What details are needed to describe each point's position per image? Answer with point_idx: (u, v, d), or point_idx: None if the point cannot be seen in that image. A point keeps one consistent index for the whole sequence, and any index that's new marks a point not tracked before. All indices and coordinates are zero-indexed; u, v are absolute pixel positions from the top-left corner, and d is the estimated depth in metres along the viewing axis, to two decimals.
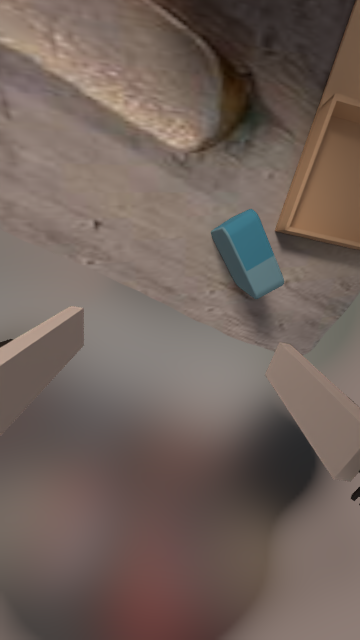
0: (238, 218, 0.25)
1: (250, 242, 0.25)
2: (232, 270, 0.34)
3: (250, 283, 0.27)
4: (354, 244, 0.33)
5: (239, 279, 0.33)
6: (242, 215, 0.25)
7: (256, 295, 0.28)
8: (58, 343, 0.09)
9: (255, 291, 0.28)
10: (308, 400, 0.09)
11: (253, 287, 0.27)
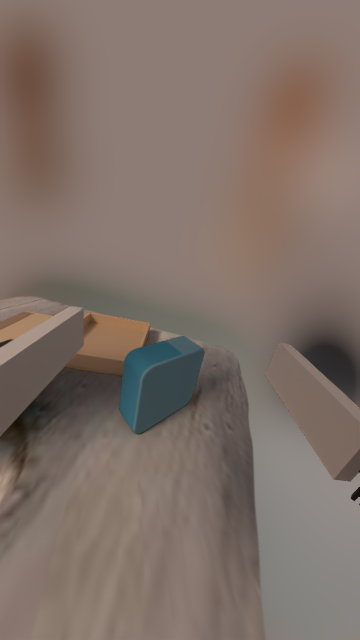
0: (133, 364, 0.24)
1: (156, 352, 0.26)
2: (178, 395, 0.30)
3: (192, 352, 0.28)
4: (146, 332, 0.48)
5: (187, 381, 0.30)
6: (130, 362, 0.24)
7: (201, 348, 0.29)
8: (58, 343, 0.09)
9: (198, 348, 0.29)
10: (308, 400, 0.09)
11: (195, 349, 0.28)
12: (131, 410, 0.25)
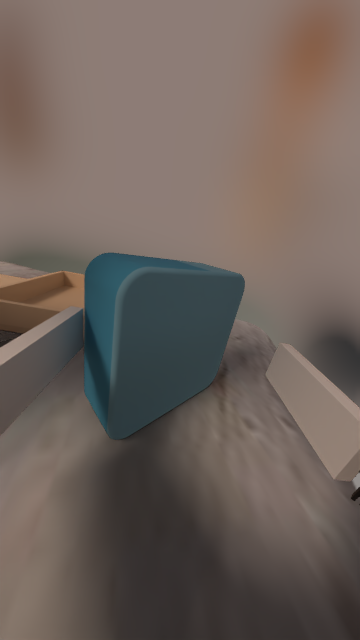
0: (101, 274, 0.10)
1: (156, 261, 0.12)
2: (197, 365, 0.16)
3: (228, 274, 0.14)
4: None
5: (213, 339, 0.16)
6: (95, 273, 0.10)
7: (241, 276, 0.16)
8: (58, 343, 0.09)
9: (237, 273, 0.15)
10: (308, 400, 0.09)
11: (232, 273, 0.15)
12: (102, 388, 0.11)
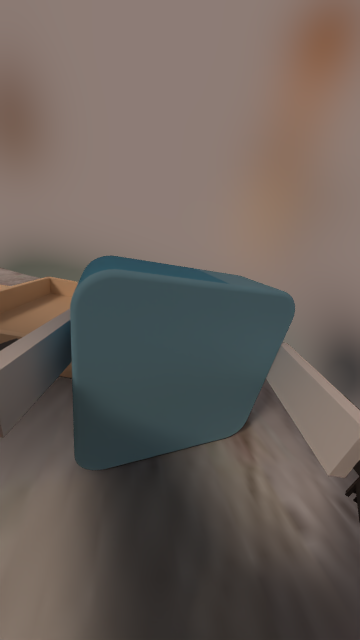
0: (81, 276, 0.09)
1: (155, 267, 0.09)
2: (208, 407, 0.12)
3: (261, 291, 0.10)
4: None
5: (236, 378, 0.12)
6: None
7: (289, 295, 0.11)
8: (62, 342, 0.10)
9: (280, 291, 0.10)
10: (304, 398, 0.10)
11: (271, 290, 0.10)
12: None
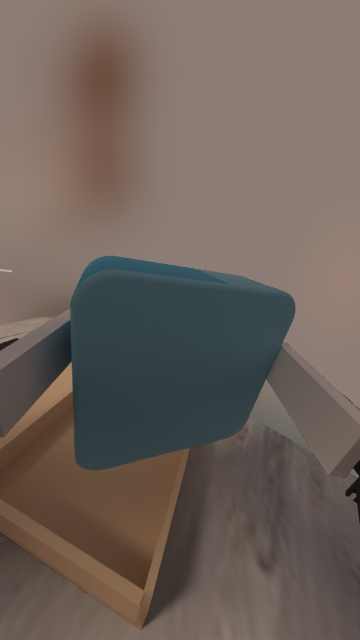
0: (81, 277, 0.09)
1: (156, 267, 0.09)
2: (208, 407, 0.12)
3: (262, 291, 0.10)
4: None
5: (237, 378, 0.12)
6: (82, 276, 0.09)
7: (289, 295, 0.11)
8: (62, 342, 0.10)
9: (280, 291, 0.10)
10: (304, 398, 0.10)
11: (271, 290, 0.10)
12: None
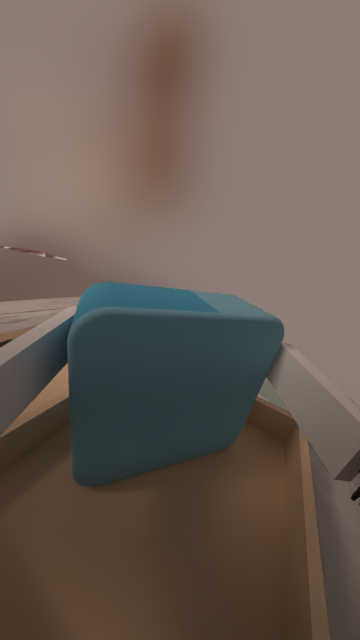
0: (78, 307, 0.09)
1: (149, 295, 0.10)
2: (201, 424, 0.13)
3: (250, 317, 0.10)
4: (310, 489, 0.11)
5: (228, 396, 0.12)
6: (78, 304, 0.10)
7: (278, 319, 0.11)
8: (58, 343, 0.09)
9: (269, 316, 0.11)
10: (308, 400, 0.09)
11: (260, 315, 0.11)
12: None
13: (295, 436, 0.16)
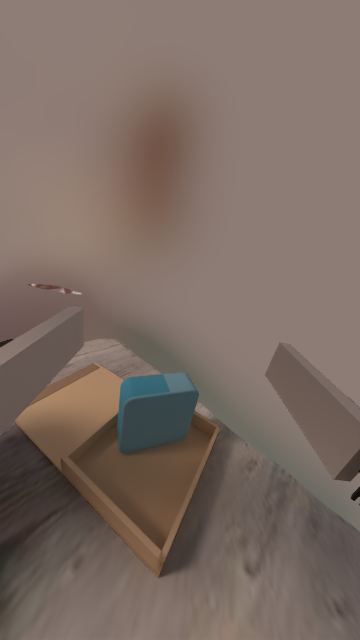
0: (123, 391, 0.28)
1: (146, 385, 0.29)
2: (168, 429, 0.31)
3: (182, 391, 0.29)
4: (207, 453, 0.30)
5: (178, 418, 0.31)
6: (122, 389, 0.28)
7: (194, 390, 0.30)
8: (58, 343, 0.09)
9: (190, 389, 0.30)
10: (308, 400, 0.09)
11: (186, 390, 0.29)
12: (119, 430, 0.29)
13: (213, 434, 0.34)
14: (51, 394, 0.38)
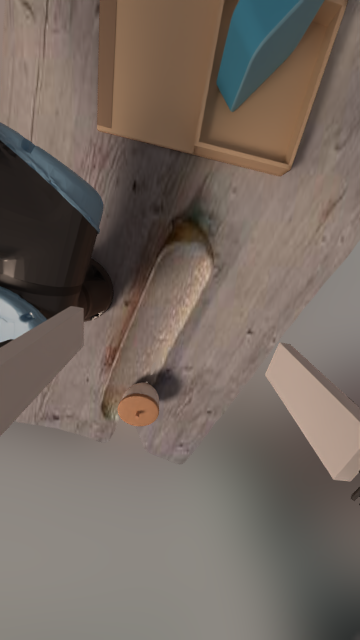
0: (243, 33, 0.21)
1: None
2: (281, 54, 0.27)
3: None
4: (325, 63, 0.28)
5: (300, 27, 0.24)
6: (239, 27, 0.21)
7: None
8: (58, 343, 0.09)
9: None
10: (308, 400, 0.09)
11: None
12: (232, 90, 0.28)
13: (334, 22, 0.27)
14: (114, 80, 0.31)
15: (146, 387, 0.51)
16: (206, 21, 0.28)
